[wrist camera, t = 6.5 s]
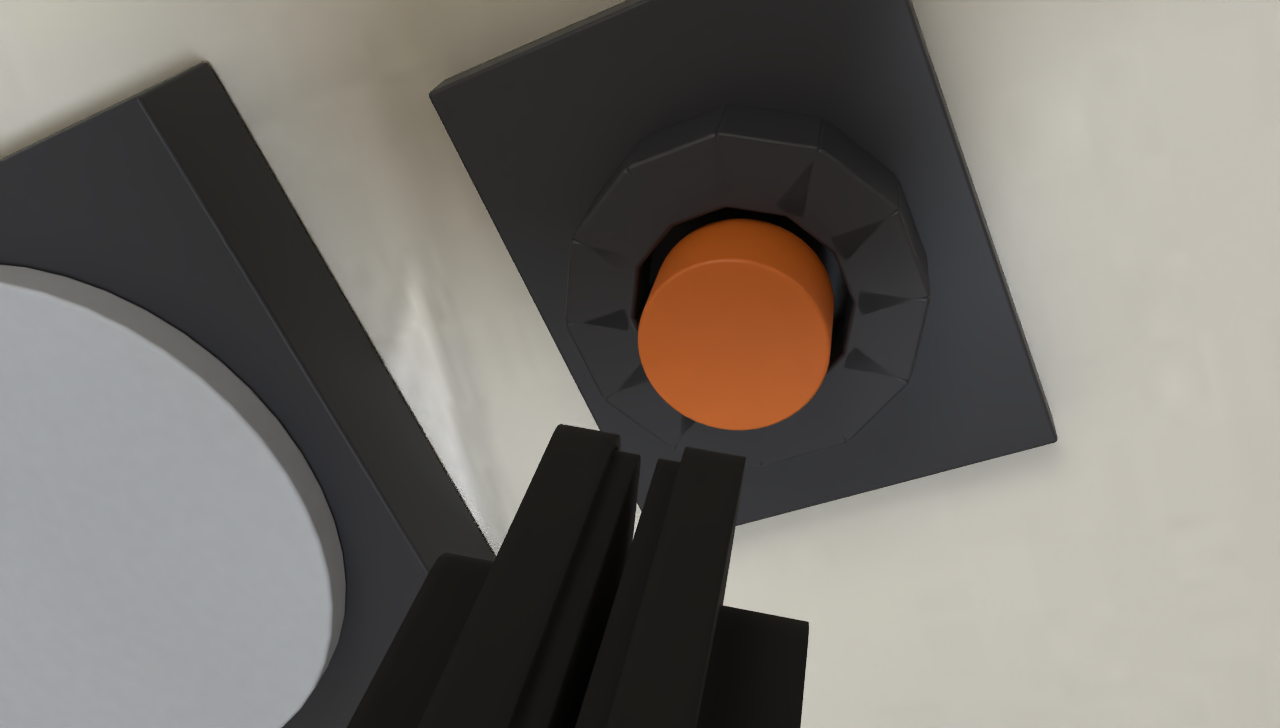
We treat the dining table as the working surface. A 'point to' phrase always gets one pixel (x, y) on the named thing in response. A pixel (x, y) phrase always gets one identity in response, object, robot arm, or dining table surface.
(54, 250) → the scale
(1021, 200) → the dining table surface
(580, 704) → the robot arm
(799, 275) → the button
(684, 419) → the block
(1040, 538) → the dining table surface
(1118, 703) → the dining table surface
